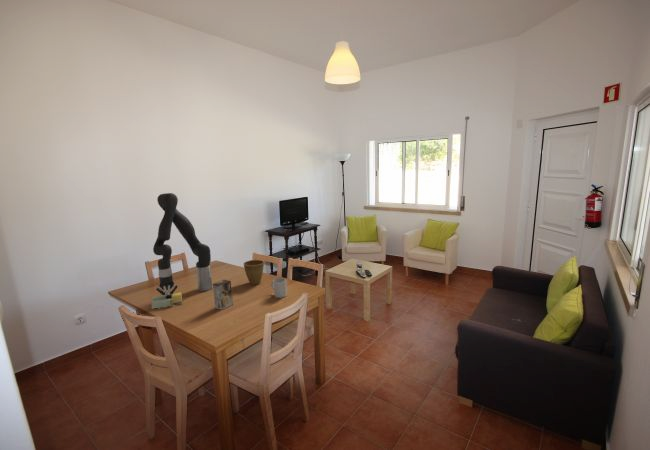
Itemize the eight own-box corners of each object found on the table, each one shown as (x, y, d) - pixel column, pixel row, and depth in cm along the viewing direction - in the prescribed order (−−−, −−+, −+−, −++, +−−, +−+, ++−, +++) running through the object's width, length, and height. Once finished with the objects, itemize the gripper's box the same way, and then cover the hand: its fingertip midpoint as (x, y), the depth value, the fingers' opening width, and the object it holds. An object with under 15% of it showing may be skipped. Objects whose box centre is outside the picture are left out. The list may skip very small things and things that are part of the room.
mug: (289, 294, 215) (288, 279, 213) (280, 298, 208) (280, 283, 206) (276, 290, 222) (275, 275, 220) (267, 294, 215) (267, 279, 213)
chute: (182, 298, 213) (181, 290, 212) (181, 305, 201) (180, 297, 200) (154, 302, 207) (153, 295, 206) (151, 310, 195) (150, 302, 194)
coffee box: (226, 302, 205) (224, 279, 201) (233, 304, 201) (231, 280, 198) (214, 308, 197) (212, 283, 194) (221, 310, 194) (219, 285, 190)
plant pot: (269, 281, 240) (268, 261, 236) (255, 288, 227) (253, 266, 224) (255, 278, 247) (253, 258, 244) (240, 284, 235) (239, 263, 232)
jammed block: (181, 298, 209) (181, 291, 208) (181, 301, 205) (180, 294, 204) (173, 300, 207) (172, 293, 206) (173, 303, 203) (172, 296, 202)
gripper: (177, 271, 206) (180, 296, 210) (154, 274, 202) (157, 299, 205) (176, 275, 200) (179, 300, 203) (153, 278, 195) (156, 304, 198)
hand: (168, 300), depth 204 cm, fingers closed
